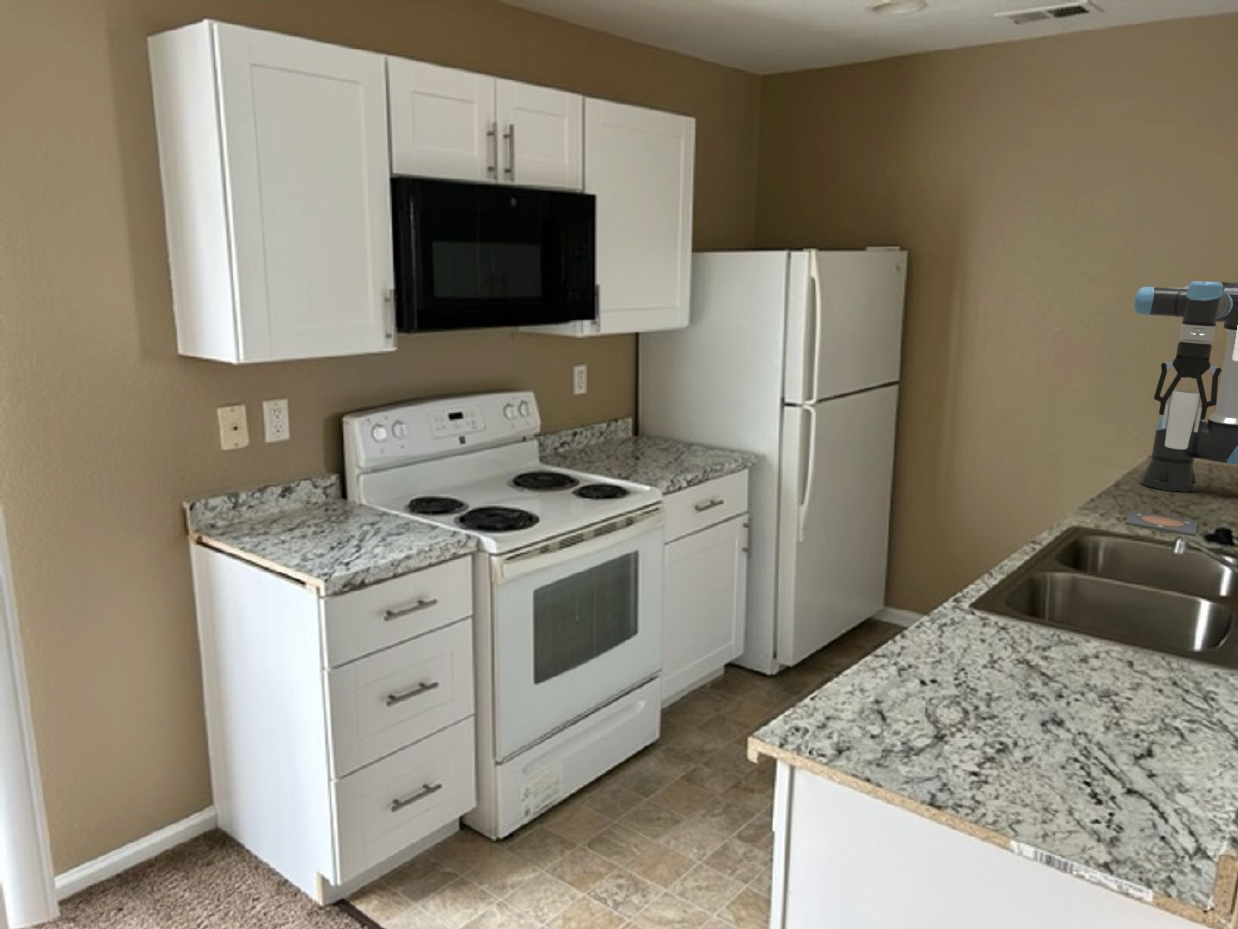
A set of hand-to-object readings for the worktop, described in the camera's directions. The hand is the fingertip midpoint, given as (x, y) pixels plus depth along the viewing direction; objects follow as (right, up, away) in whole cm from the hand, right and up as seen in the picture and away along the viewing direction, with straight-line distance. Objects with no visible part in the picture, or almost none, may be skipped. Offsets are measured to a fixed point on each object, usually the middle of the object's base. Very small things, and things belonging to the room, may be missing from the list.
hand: (1179, 429), depth 245 cm
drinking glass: (0, -5, +1) cm, 5 cm away
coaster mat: (-2, -25, +4) cm, 26 cm away
